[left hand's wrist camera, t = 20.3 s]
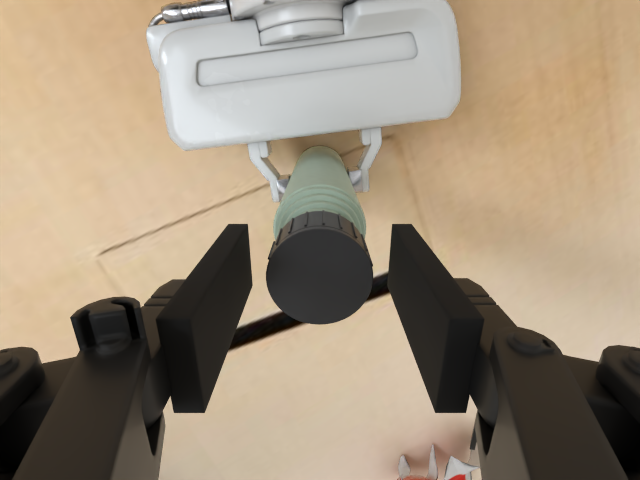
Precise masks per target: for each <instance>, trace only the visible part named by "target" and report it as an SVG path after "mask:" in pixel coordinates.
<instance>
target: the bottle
mask: <svg viewBox="0 0 640 480" xmlns="http://www.w3.org/2000/svg"><path fill="white" fill-rule="evenodd" d="M322 210H325V211H327V212H332V213H335V214H340V215H341V216H342V217H344V218H346V219H347V220H349V221H350V222H351V223H352V222H353V223H354V226H355V227H356V228H357V229H358V230H359V232H360V234H363V237H364V239H365V234H366V221H365V216H364V213H363V211H362V208H361V206H360V203H359V201H358V198H357V196H356V193H355V191H354V188H353V186H352V183H351V181H350V178H349V176H348V173H347V171H346V169H345V166H344V164H343V161H342V159H341V157H340V156H339V154H338V153H337V152H335V151H334V150H333V149H331V148H329V147H326V146H314V147H311V148H309V149H307V150H306V151H304V152H303V153H302V154H301V156H300V157H299V159H298V161H297V163H296V166H295V168H294V170H293V173H292V175H291V178H290V180H289V183H288V185H287V188H286V190H285V192H284V195H283V197H282V200H281V202H280V205H279V207H278V209H277V212H276V215H275V218H274V225H273V230H274V237H275V241H276V238H277V236H278V234H279V231H280V229H281V228H283V227H284V226H285V225H286V224H287V223H288V222H289V221H290V220H291V218H295V217H297V216H299V215H301V214H304V213H306V212H307V211H308V212H312V211H322Z"/></svg>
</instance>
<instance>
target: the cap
mask: <svg viewBox="0 0 640 480" xmlns="http://www.w3.org/2000/svg"><path fill="white" fill-rule="evenodd" d="M268 259H269V262H268V265H267V271H266V281H267V287H268V291H269V293H270V295H271V297H272V299H273V301H274V302H275V303H276V305H277V306H278V307H279V308H280V309H281V310H282V311H283V312H285V313H286V314H287V315H289V316H290V317H292V318H294V319H296V320H299V321H302V322H305V323H310V324H329V323H334V322H338V321H341V320H343V319H345V318H347V317H349V316H351V315H352V314H353V313H355V312H356V311H357V310H358V309H359V308H360V307H361V306H362V305H363V304H364V302H365V301H366V299H367V298H368V296H369V293H370V291H371V288H372V283H373V270H372V267H373V264H372V261H371V258H370V255H369V252H368V249H367V246H366V243H365V240H364V237H363V234H360V232H359V230H358V229H357V228H356V227H355V226H354V223H353V222H352V223H351V222H350V221H349V220H347V219H346V218H344V217H342V216H341V215H340V214H335V213H332V212H327V211H325V210H322V211H312V212H308V211H307V212H306V213H304V214H301V215H299V216H297V217H295V218H291V220H290V221H289V222H288V223H287V224H286V225H285V226H284V227H283V228H281V229H280V231H279V234H278V236H277V238H276V241H274V242H273V245H272V248H271V251H270V254H269V257H268Z"/></svg>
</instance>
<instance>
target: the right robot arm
mask: <svg viewBox="0 0 640 480" xmlns="http://www.w3.org/2000/svg"><path fill="white" fill-rule="evenodd" d="M231 15H232V16H231ZM192 19H193V20H192ZM195 19H196V20H195ZM162 20H164V21H165V22H166V23H167V24H160V25H157V24H158V23H159V22H160V21H162ZM146 37H147V43H148V46H149V50H150V54H151V58H152V62H153V64H154V66H155V68H156V70H157V71H158V73H159V79H160V89H161V97H162V104H163V110H164V116H165V121H166V126H167V130H168V134H169V137H170V139H171V140H172V141H173V142H174V143H175V144H176V145H178V146H179V147H180V148H181V149H182V150H184V151H191V150H199V149H207V148H215V147H223V146H231V145H239V144H247V145H248V150H249V156H250V160H251V161H252V162H253V164H254V165H255V166H256V167H257V168H258V170H259V171H260V172H261V173H262V174H263V176H264V177H265V178H266V179H267V181H269V182H270V187H271V193H272V199H273V202H281V200H282V197H283V195H284V192H285V190H286V188H287V185H288V183H289V180H290V178H291V175H290V174H289V175H280V174H279V172H278V171H277V170H276V169H275V167H274V166H273V165H272V163H271V162H270V161H269V159H268V158H267V157H268V156H269V155H270V154H271V153H272V147H271V140H279V139H287V138H295V137H303V136H311V135H319V134H327V133H335V132H343V131H351V130H359V140H360V142H361V143H362V144H363V145H366V146H365V149H364V151H363V153H362V155H361V158H360V160H359V162H358V164H357V166H354V167H347V173H348V176H349V178H350V181H351V183H352V186H353V188H354V191H355V193H359V192H368V191H369V175H368V169H370V167H371V165H372V163H373V161H374V159H375V157H376V155H377V153H378V151H379V149H380V147H381V145H382V136H381V127H383V126H391V125H399V124H408V123H416V122H424V121H432V120H439V119H446V118H448V117H450V115H451V114H452V113H453V111H454V110H455V108H456V107H457V105H458V104H459V102H460V97H461V62H460V48H459V38H458V30H457V23H456V19H455V15H454V12H453V10H452V8H451V6H450V4H449V3H448V2H447V1H446V0H197V1H193V2H189V3H183V4H182V3H181V2H176V3H170V4H166V5H164V6H162V7H161V12H160V13H158V14H157V15H155V16H154V17H153V18H152V20H151V21H150V23H149V26H148V28H147V31H146Z"/></svg>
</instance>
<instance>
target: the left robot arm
mask: <svg viewBox="0 0 640 480" xmlns="http://www.w3.org/2000/svg"><path fill="white" fill-rule="evenodd" d="M251 288H252V273H251V260H250V247H249V234H248V224H228V225H227V227H226V228H225V229H224V231H223V232H222V233H221V235H220V236H219V237H218V238H217V240H216V241H215V242H214V244H213V245H212V246H211V247H210V249H209V250H208V251H207V253H206V254H205V255H204V257H203V258H202V259H201V260H200V262H199V263H198V264H197V266H196V267H195V268H194V269H193V271H192V272H191V273H190V275H189V276H188V277H187V279H186V280H171V281H169V282H168V283H166V284H164V285H162V286H161V287H159V288H158V289H157V290H156V292H155V293H154V294H153V295H152V296H151V298H149V299H148V301H147V302H146V303H145V304H144V306H142V307H140V302H139V301H137V300H136V299H134V298H130V297H112V298H107V299H102V300H99V301H96V302H93V303H91V304H88V305H86V306H84V307H83V308H81V309H79V310H77V311H76V312H75V313H74V314H73V315H72V316H71V317H70V318H71V322H72V325H73V328H74V332H75V335H76V338H77V342H78V345H79V348H80V351H79V353H78V355H77V357H73V358H68V359H63V360H58V361H53V362H48V363H43V364H42V363H41V360H40V358H39V355H38V352H37V351H36V350H34V349H33V348H28V347H17V348H8V349H3V350H0V480H158V477H159V469H160V462H161V455H162V447H163V440H164V432H165V420H164V415H163V409H164V407H165V405H166V403H167V401H168V399H169V397H170V395H171V400H172V405H173V410H174V413H205V411H206V408H207V405H208V403H209V400H210V397H211V395H212V392H213V389H214V387H215V384H216V381H217V379H218V376H219V373H220V371H221V368H222V365H223V363H224V360H225V357H226V355H227V352H228V349H229V347H230V344H231V341H232V339H233V336H234V333H235V331H236V328H237V325H238V323H239V320H240V317H241V315H242V312H243V309H244V307H245V304H246V301H247V299H248V296H249V293H250V291H251ZM388 288H389V291H390V293H391V296H392V299H393V301H394V304H395V307H396V309H397V312H398V315H399V317H400V320H401V323H402V325H403V328H404V331H405V333H406V336H407V339H408V341H409V344H410V347H411V349H412V352H413V355H414V357H415V360H416V363H417V365H418V368H419V371H420V373H421V376H422V379H423V381H424V384H425V387H426V389H427V392H428V395H429V397H430V400H431V403H432V405H433V408H434V411H435V413H466V410H467V405H468V400H469V395H470V396H471V398H472V399H473V401H474V403H475V405H476V407H477V409H478V410H477V415H476V419H475V424H474V429H473V433H472V438H471V444H470V449H471V450H475V447H476V442H477V446H478V454H479V461H480V469H481V476H482V480H640V348H636V347H629V346H621V345H616V346H608V347H607V348H606V349H604V350H603V352H602V355H601V358H600V360H599V362H596V361H590V360H585V359H580V358H575V357H570V356H566V355H563V354H562V352H561V350H560V349H559V348H558V347H557V345H556V344H555V343H554V342H553V341H551V340H550V339H548V338H547V337H545V336H544V335H542V334H539V333H537V332H535V331H532V330H529V329H525V328H521V327H517V326H516V325H515V324H514V323H513V321H512V320H511V319H510V318H509V317H508V316H507V315H506V314H505V312H504V311H503V310H502V309H501V308H500V307H499V306H498V305H496V302H495V301H494V300H493V299H492V298H491V297H489V295H488V293H487V292H486V291H485V290H484V289H483V288H482V287H481V286H480V285H478V284H476V283H475V282H473V281H471V280H470V279H468V278H453V277H452V276H451V275H450V273H449V272H448V271H447V269H446V268H445V267H444V266H443V264H442V263H441V262H440V260H439V259H438V258H437V257H436V255H435V254H434V253H433V251H432V250H431V249H430V247H429V246H428V245H427V244H426V242H425V241H424V240H423V238H422V237H421V236H420V235H419V233H418V232H417V231H416V229H415V228H414V227H413V225H412V224H392V234H391V247H390V260H389V273H388Z"/></svg>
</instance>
